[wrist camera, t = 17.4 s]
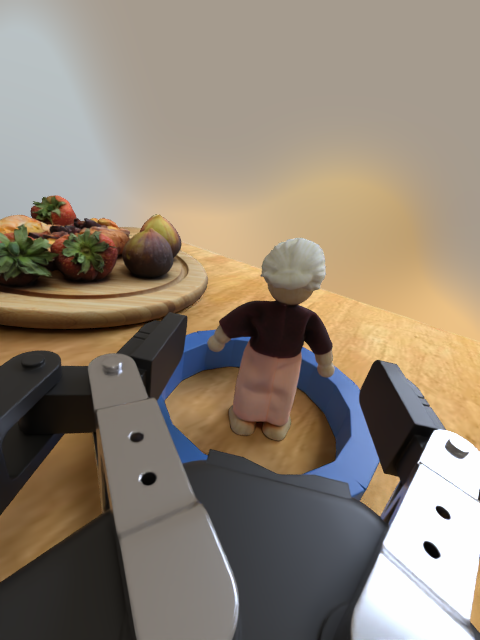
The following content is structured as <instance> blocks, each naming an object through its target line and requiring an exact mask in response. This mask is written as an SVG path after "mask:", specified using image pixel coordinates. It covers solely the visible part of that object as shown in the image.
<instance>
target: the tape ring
mask: <svg viewBox="0 0 480 640" xmlns="http://www.w3.org/2000/svg"><path fill="white" fill-rule="evenodd" d="M214 334H215V330H209V331H197V332H194V333H191V334H188V335H186V337H185V346H184V352H183V355H182V358H181V361H180V362H179V364H178V366H177V368H176V369H175V371H174V373H173V375H172V376H171V378H170V380H169V381H168V383H167V385H166V387H165V388H164V390H163V392H162V394H161V395H160V397H159V399H158V400H157V402H158V405H159V407H160V410H161V412H162V415H163V417H164V420H165V422H166V425H167V427H168V430H169V432H170V435H171V437H172V440H173V442H174V445H175V447H176V450H177V452H178V455H179V457H180V460H181V462H182V463H186V462H190V461H197V460H207V457H208V455H206V454H203V453H202V452H201V451H200V450H199V449H198V448H197V447H196V446H195V445H194V444H193V443H192V442H191V441H190V440H189V439H188V438H186V437H185V436H184V435H183V434H182V433H181V432H180V431H179V430H178V429H177V428H176V427H175V426H174V425H173V424H172V421H171V419H170V416H169V413H168V410H167V408H166V405H165V399H166V398H167V397H168V396H169V395H170V393H171V392H172V391H173V390H174V389H175V388H176V387H177V385H178V384H179V383H180V382H181V381H182V380H184V379H186V378H188V377H190V376H192V375H194V374H196V373H198V372H200V371H202V370H208V369H215V368H221V367H228V366H231V367H240V364H241V360H242V357H243V353H244V350H245V348H246V345H247V344H248V342H249V340H250V338H251V337H240V338H232V339H231V340H230V341H229V342H227V343H225V346H224V348H223V349H222V350H221V351H219V352H214V351H212V350H210V349H209V347H208V344H207V342H208V339H209V338H210V337H211V336H213V335H214ZM301 355H302V361H301V367H300V373H299V379H298V383H297V388H298V389H300V390H302V391H303V392H305V393H306V394H307V395H308V396H309V398H310V399H311V400H312V401H313V402H314V403H315V404H316V405H317V406H318V407H319V408H320V409H321V410H322V411H323V413H324V414H325V416H326V418H327V421H328V423H329V425H330V427H331V429H332V432H333V434H334V436H335V438H336V459H335V461H334V462H331V463H329V464H326V465H324V466H321V467H319V468H317V469H314V470H312V471H309V472H307V473H304V474H302V475H317V476H321V477H326V478H330V479H334V480H338V481H342V482H346V483H348V484H349V489H350V493H351V497H353V498H355V499H357V500H358V501H360V499H361V498H362V496H363V494H364V493H365V491H366V489H367V487H368V485H369V483H370V481H371V479H372V477H373V474H374V472H375V470H376V468H377V466H378V464H379V462H380V460H379V457H378V455H377V452H376V449H375V446H374V443H373V440H372V438H371V435H370V432H369V429H368V426H367V424H366V421H365V418H364V415H363V412H362V409H361V407H360V404H359V394H360V389H359V388H358V386H357V385H355V383H354V382H353V381H352V380H350V379H349V378H348V377H347V376H346V375H345V374H343V373H342V372H341V371H340V370H339V369H338V368H336V367H335V366H334V368H335V371H334V374H333V375H332V376H331V377H322V376H321V375H320V374H319V373H318V371H317V366H318V363H317V362H316V360H315V354H314V353H313V352H311V351H309V350H307V349H306V348H304V347H302V350H301Z"/></svg>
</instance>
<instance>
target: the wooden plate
mask: <svg viewBox="0 0 480 640" xmlns="http://www.w3.org/2000/svg"><path fill="white" fill-rule="evenodd" d="M34 202H35V201H34ZM33 204H35V206H33V207H32V208H31V216H32V218H29V217H27V216H24V215H13V216H8V217H5V218H3V219H1V220H0V324H2V325H9V326H18V327H29V328H44V329H79V328H99V327H112V326H120V325H128V324H135V323H140V322H145V321H150V320H154V319H158V318H161V317H164V316H166V315H167V314H168V313H169V312H172V313H176V312H178V311H180V310H182V309H184V308H186V307H188V306H190V305H191V304H193V303H195V302H196V301H197V300H198V299H199V298H200V297H201V296H202V295H203V293H204V292H205V290H206V288H207V284H208V277H207V273H206V271H205V269H204V267H203V266H202V265H201V264H200V263H199V262H198V261H197V260H196V259H195V258H193V257H192V256H190V255H189V254H187V253H185V252H183V251H181V250H180V249H181V239H180V236H179V234H178V232H177V231H176V229H175V228H174V227H173V225H172V224H171V223H170V222H169V221H167V220H166V219H165V218H164V217H162V216H161V215H157V214H156V215H153V216H152V217H151V218H150V219H149V220H147V221H146V222H145V223H144V225H143V226H142V228H141V230H140V232H139V233H137V234H136V235H134V236H132V235H129V234H130V231H128V230H127V229H121V228H118V226H117V225H116V223H114V222H113V221H111V220H109V219H105V218H102V219H99V220H97V219H96V218H92V219H87V218H85V219H84V220H85V221H80V220H79V219H78V218H76V215H75V213H74V211H73V209H72V207H71V205H70V203H69V202H68V201H67V200H66V199H64V198H62V197H60V196H49V197H47V198H46V197H43V198H42V203H39V202H35V203H33Z"/></svg>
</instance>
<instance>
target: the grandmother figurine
mask: <svg viewBox="0 0 480 640" xmlns="http://www.w3.org/2000/svg"><path fill="white" fill-rule="evenodd" d="M325 275H326V273H325V257H324V253H323V250H322V249H321V248H320V247H319V245H318V244H315V243H314V242H312V241H310V240H306V239H303V238H295V239H289V240H287V241H286V242H281V243H279V244H278V245H277V246H275V247H274V249H273V250H271V252H270V253H269V254H268V255H267V256H266V257H265V259H264V261H263V264H262V274H261V277H262V276H263V277H264V279H265V281H266V282H267V283H268V289H269V291H270V293H271V295H272V296H273V298H274V299H275V300H276V301H252V302H247V303H245V304H243V305H241V306H239V307H237V308H236V309H234V310H233V311H231V312H230V313H229V314H227V315H226V316H225V317H223V318H222V319H221V320H220V321H219V323H220V325H219V326H218V328H217V329H216V330H215V334H214V335H213V336H211V337H210V338H209V339H208V342H207V344H208V347H209V349H210V350H212V351H214V352H219V351H221V350H222V349H223V348H224V346H225V343H227V342H229V341H230V340H231V339H232V338H240V337H251V338H250V340H249V342H248V344H247V345H246V348H245V350H244V353H243V357H242V360H241V364H240V369H239V373H238V376H237V381H236V387H235V394H234V401H233V405H232V406H231V407H230V409H229V419H230V425H231V429H232V430H233V431H234V432H235V433H237V434H239V435H250V434H252V433H253V432H254V429H255V422H259V421H262V422H263V427H262V429H263V433H264V434H265V435H266V436H267V437H268V438H271V439H273V440H278V441H279V440H282V439H284V437H285V436H286V434H287V432H288V430H289V428H290V425H291V418H290V416H289V415H290V411H291V408H292V405H293V401H294V397H295V393H296V388H297V383H298V379H299V373H300V367H301V361H302V355H301V350H302V346H303V344H304V341H305V342H306V343H307V344H308V345H309V347H310V348H311V350H312V351H313V353H314V354H315V360H316V362H317V363H318V366H317V371H318V373H319V374H320V375H321V376H322V377H331V376H332V375H333V374H334V371H335V368H334V365H333V363H332V361H333V354H332V342H331V340H330V338H329V335H328V333H327V330H326V328H325V326H324V324H323V322H322V321H321V319H320V318H319V316H318V315H317V314H316V313H315V312H313V311H311V310H309V309H307V308H304V307H302V306H299V305H298V304H300V303H302V302H304V301H305V300H307V299H308V298H309V297H310V296H311V294H312V292H313V291H315V290H318V289H320V284H321V282H322V281H323V280H324V277H325Z"/></svg>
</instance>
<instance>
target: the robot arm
mask: <svg viewBox="0 0 480 640" xmlns="http://www.w3.org/2000/svg"><path fill="white" fill-rule="evenodd" d="M186 328H187V316H185V315H180V314H176V313H172V312H169V313H168V314H167V315H166V316H165V317H164V319H163V320H162V321H161V322H160V321H156V320H154V321H152V322H149V323H147V324H145V325H144V326H143V327H142V328H141V329H140V330H139V331H138V332H137V333H136V334H135V335H134V336H133V337H132V338H131V339H130V340H129V341H128V342H127V343H126V344H125V345H124V346H123V347H122V348H121V349H120V350H119V351H118V352H117V353H116V354H115V353H113V354H105V355H102V356H99V357H97V358H95V359H94V360H92V361H91V362H90V364H89V366H61V359H60V357H59V356H58V355H57V354H56V353H53V352H50V351H31V352H26V353H22V354H20V355H17V356H15V357H13V358H12V359H10V360H9V361H7V362H6V363H4V364H3V365H2V366H0V515H1V514H2V513H3V511H4V510H5V509H6V507H7V506H8V505H9V504H10V502H11V501H12V500H13V499H14V497H15V496H16V495H17V493H18V492H19V491H20V490H21V488H22V487H23V486H24V485H25V483H26V482H27V481H28V479H29V478H30V477H31V476H32V474H33V473H34V472H35V471H36V469H37V468H38V467H39V465H40V464H41V463H42V462H43V460H44V459H45V458H46V457H47V455H48V454H49V453H50V451H51V450H52V449H53V448H54V446H55V445H56V444H57V443H58V441H59V440H60V439H61V437H62V436H63V435H64V434H66V433H92V437H93V444H94V451H95V458H96V466H97V473H98V480H99V490H100V500H101V509H102V514H101V515H100V516H98V517H97V518H95V519H94V520H92V521H91V522H89V523H88V524H86V525H85V526H83V527H82V528H80V529H79V530H77V531H76V532H74V533H73V534H71V535H70V536H68V537H67V538H65V539H64V540H62V541H61V542H59V543H58V544H57V545H55V546H54V547H52V548H51V549H49V550H48V551H46V552H45V553H43V554H42V555H40V556H39V557H37V558H36V559H34V560H33V561H31V562H30V563H28V564H27V565H25V566H24V567H22V568H21V569H19V570H18V571H16V572H15V573H13V574H12V575H11V576H9V577H8V578H6V579H5V580H3V581H2V582H0V640H480V633H479V632H478V631H477V629H476V628H475V627H474V626H473V625H472V623H471V622H470V615H471V608H472V602H473V595H474V589H475V582H476V576H477V569H478V563H479V559H480V452H479V451H478V450H477V449H476V448H475V447H474V446H473V445H472V444H471V443H470V442H468V441H467V440H465V439H464V438H462V437H461V436H459V435H457V434H455V433H452V432H450V431H446V429H445V428H444V426H443V425H442V423H441V422H440V420H439V419H438V417H437V416H436V414H435V413H434V411H433V410H432V408H431V407H429V406H430V405H429V404H428V402H427V401H426V399H424V396H423V395H422V393H421V392H420V390H419V389H418V388H417V387H416V386H415V385H414V384H413V383H412V382H411V381H409V380H408V379H406V378H405V376H404V374H403V373H402V371H401V370H400V368H399V367H398V365H397V364H393V363H389V362H385V361H380V360H376V361H375V362H374V363H373V364H372V366H371V368H370V371H369V373H368V375H367V377H366V379H365V381H364V383H363V385H362V387H361V390H360V394H359V404H360V407H361V409H362V412H363V415H364V418H365V421H366V424H367V426H368V429H369V432H370V435H371V438H372V440H373V443H374V446H375V449H376V452H377V455H378V457H379V460H380V463H381V466H382V469H383V472H384V473H385V474H390V475H394V476H398V477H399V478H400V482H399V483H398V485H397V486H396V488H395V490H394V492H393V494H392V496H391V497H390V499H389V501H388V503H387V505H386V507H385V509H384V511H383V513H382V514H381V516H378V515H377V514H376V513H375V512H374V511H373V510H371V509H370V508H369V507H367V506H366V505H365V504H363V503H361V502H360V501H358V500H357V499H355V498H353V497H351V493H350V489H349V484H348V483H346V482H342V481H338V480H334V479H330V478H326V477H321V476H317V475H281V474H276V473H274V472H272V471H270V470H268V469H266V468H264V467H262V466H260V465H258V464H256V463H254V462H252V461H250V460H248V459H246V458H244V457H240V456H236V455H232V454H228V453H224V452H220V451H216V450H212V449H210V450H209V453H208V457H207V460H197V461H190V462H186V463H182V462H181V460H180V457H179V455H178V452H177V450H176V447H175V445H174V442H173V440H172V437H171V435H170V432H169V430H168V427H167V425H166V422H165V420H164V417H163V415H162V412H161V410H160V407H159V405H158V402H157V400H158V399H159V397H160V395H161V394H162V392H163V390H164V388H165V387H166V385H167V383H168V381H169V380H170V378H171V376H172V375H173V373H174V371H175V369H176V368H177V366H178V364H179V362H180V361H181V358H182V355H183V352H184V346H185V337H186Z"/></svg>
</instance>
